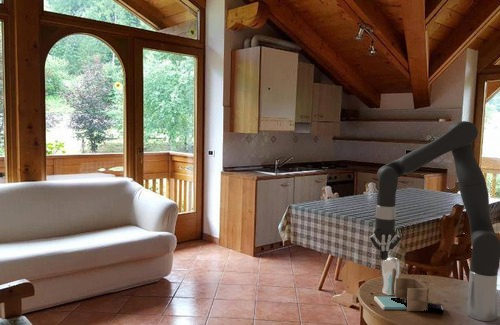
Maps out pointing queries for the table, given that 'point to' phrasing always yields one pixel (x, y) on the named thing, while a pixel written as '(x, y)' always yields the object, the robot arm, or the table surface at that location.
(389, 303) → the teal panel
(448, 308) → the table surface
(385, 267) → the beer glass
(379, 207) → the robot arm
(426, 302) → the crate
